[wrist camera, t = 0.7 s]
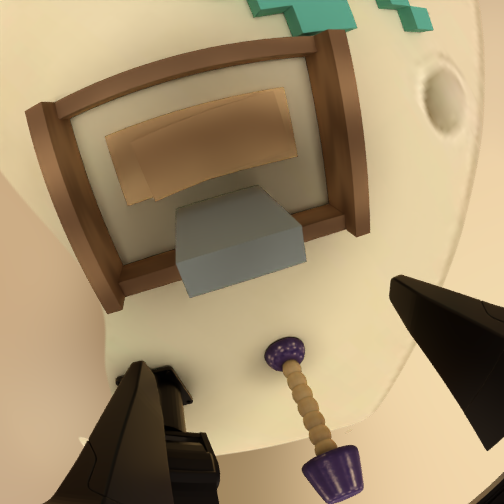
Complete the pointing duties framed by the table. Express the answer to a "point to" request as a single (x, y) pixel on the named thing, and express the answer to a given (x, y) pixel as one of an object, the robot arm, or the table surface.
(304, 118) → the table surface
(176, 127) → the offcut
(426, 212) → the table surface
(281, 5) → the alien figure
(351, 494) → the toy lamp
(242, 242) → the grey tapered box
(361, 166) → the picture frame
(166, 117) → the offcut
